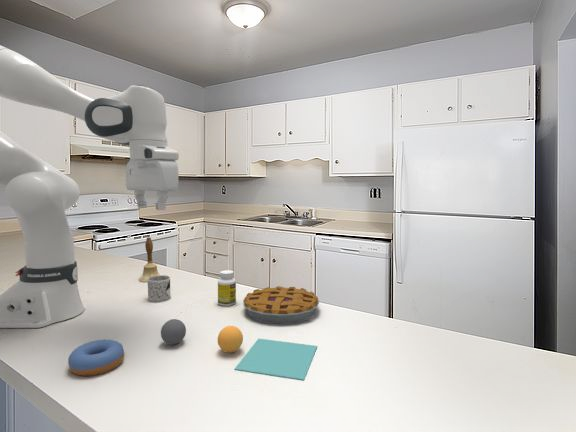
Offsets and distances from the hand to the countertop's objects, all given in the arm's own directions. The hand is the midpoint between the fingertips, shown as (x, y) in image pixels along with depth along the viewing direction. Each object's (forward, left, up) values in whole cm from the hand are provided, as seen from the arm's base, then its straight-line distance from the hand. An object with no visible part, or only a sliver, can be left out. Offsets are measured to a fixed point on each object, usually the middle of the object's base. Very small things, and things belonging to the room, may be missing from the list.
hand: (151, 209), depth 90 cm
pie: (+34, +2, -30) cm, 46 cm away
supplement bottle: (+19, +11, -30) cm, 37 cm away
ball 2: (+19, -20, -27) cm, 38 cm away
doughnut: (-8, -20, -30) cm, 37 cm away
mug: (-2, +21, -30) cm, 37 cm away
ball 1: (+6, -13, -27) cm, 31 cm away
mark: (+28, -24, -30) cm, 48 cm away
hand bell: (-8, +43, -30) cm, 53 cm away
